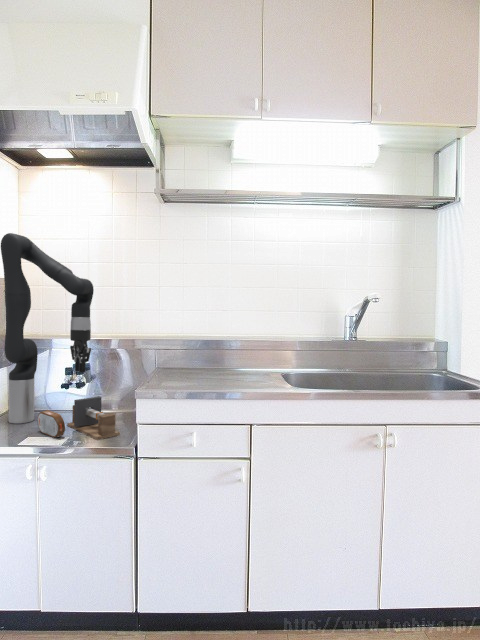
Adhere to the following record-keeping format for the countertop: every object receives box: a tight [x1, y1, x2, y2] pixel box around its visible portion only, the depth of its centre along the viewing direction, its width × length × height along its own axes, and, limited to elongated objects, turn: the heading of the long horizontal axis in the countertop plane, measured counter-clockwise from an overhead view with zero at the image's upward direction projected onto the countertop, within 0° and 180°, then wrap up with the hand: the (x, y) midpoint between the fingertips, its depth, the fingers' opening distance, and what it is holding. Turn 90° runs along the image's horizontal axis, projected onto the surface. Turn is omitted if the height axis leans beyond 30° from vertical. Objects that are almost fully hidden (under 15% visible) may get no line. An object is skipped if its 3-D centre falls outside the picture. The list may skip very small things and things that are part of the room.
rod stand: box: [67, 404, 121, 441], centre depth 160 cm, size 24×9×8 cm, turn 46°
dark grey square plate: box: [73, 396, 102, 427], centre depth 163 cm, size 2×10×10 cm, turn 136°
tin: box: [37, 409, 66, 439], centre depth 153 cm, size 15×3×8 cm, turn 53°
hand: (80, 371), depth 167 cm, fingers open, 3 cm apart
